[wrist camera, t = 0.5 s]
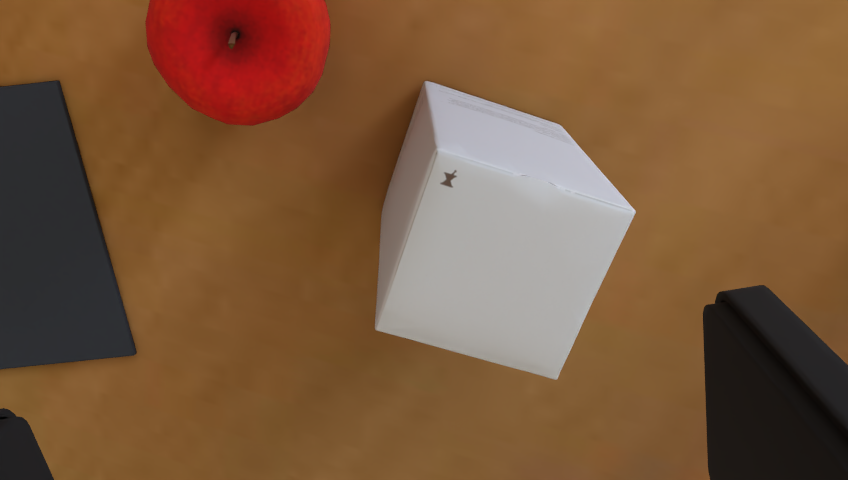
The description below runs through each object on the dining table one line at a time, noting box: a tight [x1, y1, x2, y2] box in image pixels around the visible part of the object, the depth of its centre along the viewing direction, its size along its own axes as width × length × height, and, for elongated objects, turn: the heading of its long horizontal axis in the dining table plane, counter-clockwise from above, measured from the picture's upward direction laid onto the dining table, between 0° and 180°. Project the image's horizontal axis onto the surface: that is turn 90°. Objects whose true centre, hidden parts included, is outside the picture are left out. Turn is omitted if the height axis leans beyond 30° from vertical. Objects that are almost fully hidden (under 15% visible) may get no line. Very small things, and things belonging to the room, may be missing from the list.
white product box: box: [375, 81, 636, 380], centre depth 38 cm, size 9×9×15 cm
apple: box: [146, 0, 331, 126], centre depth 38 cm, size 9×9×8 cm
